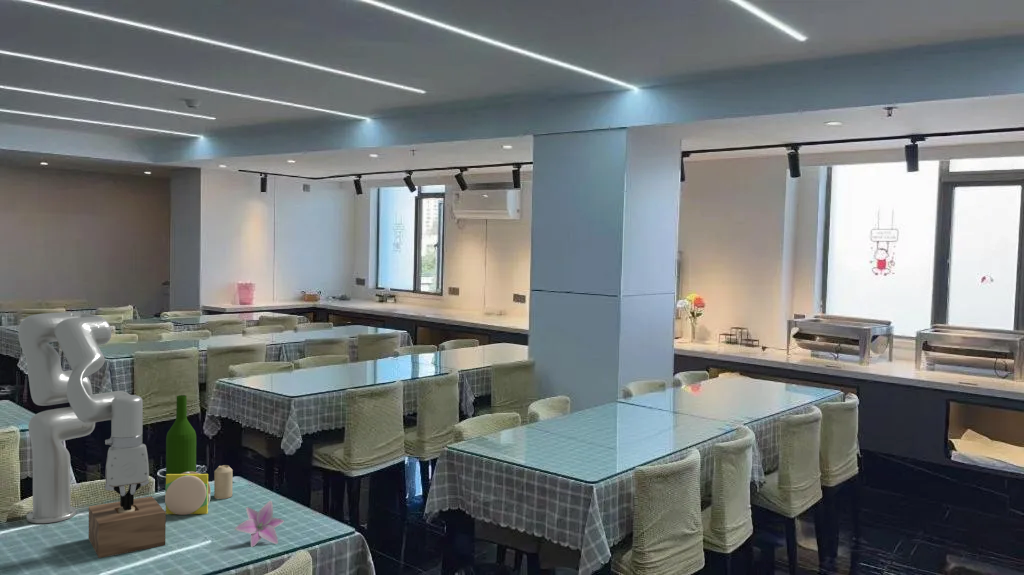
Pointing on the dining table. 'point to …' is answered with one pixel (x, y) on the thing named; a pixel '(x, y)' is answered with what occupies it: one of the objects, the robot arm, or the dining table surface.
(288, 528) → the dining table surface
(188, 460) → the wine bottle
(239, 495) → the dining table surface
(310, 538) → the dining table surface
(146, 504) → the socket block
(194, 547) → the dining table surface
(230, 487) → the candle
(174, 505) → the hamburger
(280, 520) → the lily
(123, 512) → the maple peg
